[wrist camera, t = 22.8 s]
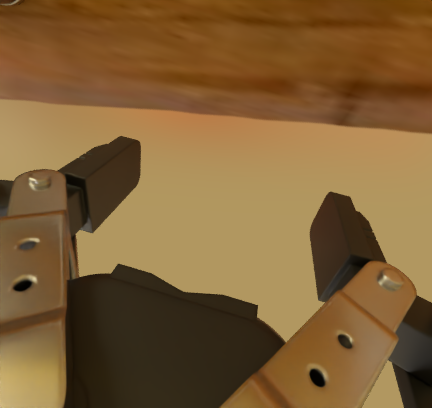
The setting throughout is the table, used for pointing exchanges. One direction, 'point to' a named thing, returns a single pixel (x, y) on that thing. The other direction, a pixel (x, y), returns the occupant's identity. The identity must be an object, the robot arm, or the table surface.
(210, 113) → the table surface
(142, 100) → the table surface
